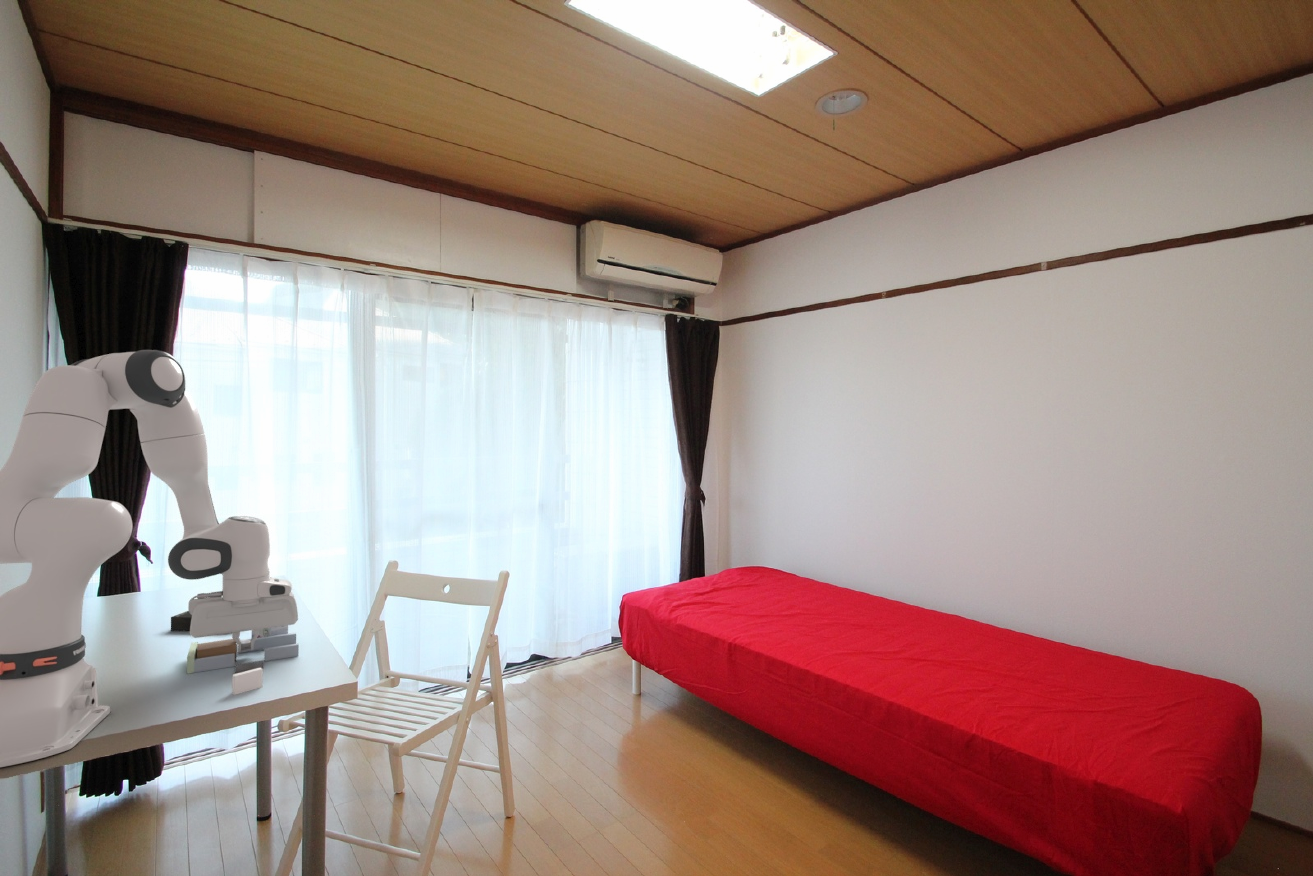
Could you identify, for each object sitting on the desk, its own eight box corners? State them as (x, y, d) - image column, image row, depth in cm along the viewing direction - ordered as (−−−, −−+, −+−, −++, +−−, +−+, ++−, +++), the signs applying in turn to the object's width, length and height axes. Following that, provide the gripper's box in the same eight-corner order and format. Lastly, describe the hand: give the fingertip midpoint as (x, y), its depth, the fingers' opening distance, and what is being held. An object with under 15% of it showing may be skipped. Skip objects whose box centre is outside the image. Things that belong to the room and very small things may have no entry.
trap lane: (299, 662, 136) (299, 646, 136) (184, 681, 125) (184, 664, 125) (294, 637, 154) (294, 623, 154) (193, 652, 143) (193, 636, 143)
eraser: (232, 693, 120) (232, 674, 120) (260, 685, 124) (260, 667, 124) (234, 695, 120) (234, 676, 120) (262, 687, 123) (262, 668, 123)
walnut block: (236, 662, 137) (236, 644, 137) (196, 669, 133) (197, 650, 133) (235, 655, 141) (236, 638, 141) (197, 662, 137) (197, 644, 137)
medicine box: (250, 640, 151) (251, 604, 151) (269, 635, 155) (269, 600, 155) (270, 645, 148) (270, 609, 147) (288, 640, 151) (289, 604, 151)
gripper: (187, 597, 131) (186, 663, 131) (298, 585, 142) (298, 646, 142) (189, 591, 136) (189, 654, 136) (297, 580, 148) (296, 638, 148)
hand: (245, 650), depth 140 cm, fingers closed
